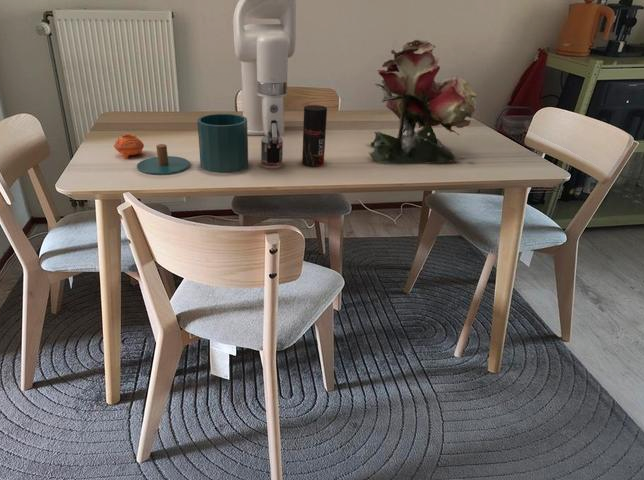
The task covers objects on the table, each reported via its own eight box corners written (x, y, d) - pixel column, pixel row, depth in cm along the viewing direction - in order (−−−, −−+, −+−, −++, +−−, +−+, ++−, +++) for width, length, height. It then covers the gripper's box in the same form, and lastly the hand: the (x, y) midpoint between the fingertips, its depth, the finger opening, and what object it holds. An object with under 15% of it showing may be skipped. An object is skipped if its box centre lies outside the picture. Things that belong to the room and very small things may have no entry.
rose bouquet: (476, 164, 138) (502, 46, 123) (372, 165, 136) (386, 45, 121) (444, 137, 160) (462, 35, 145) (354, 138, 158) (364, 34, 143)
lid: (191, 159, 138) (189, 137, 135) (188, 176, 127) (186, 153, 123) (141, 160, 137) (138, 138, 134) (134, 177, 125) (130, 154, 122)
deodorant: (317, 168, 133) (320, 111, 125) (298, 164, 136) (299, 108, 128) (327, 162, 137) (331, 107, 130) (308, 158, 140) (311, 104, 132)
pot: (107, 157, 137) (108, 132, 135) (130, 157, 144) (130, 133, 142) (127, 162, 133) (128, 136, 131) (149, 161, 140) (150, 136, 138)
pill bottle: (279, 169, 132) (280, 132, 127) (259, 167, 133) (258, 130, 128) (284, 162, 137) (284, 126, 132) (264, 161, 138) (264, 125, 133)
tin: (246, 158, 139) (245, 113, 133) (249, 174, 129) (248, 125, 122) (201, 159, 138) (198, 113, 132) (200, 175, 127) (196, 126, 121)
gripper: (291, 95, 118) (289, 168, 127) (283, 82, 132) (282, 148, 142) (259, 96, 117) (260, 169, 126) (254, 82, 132) (255, 149, 141)
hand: (271, 157), depth 134 cm, fingers open, 6 cm apart
